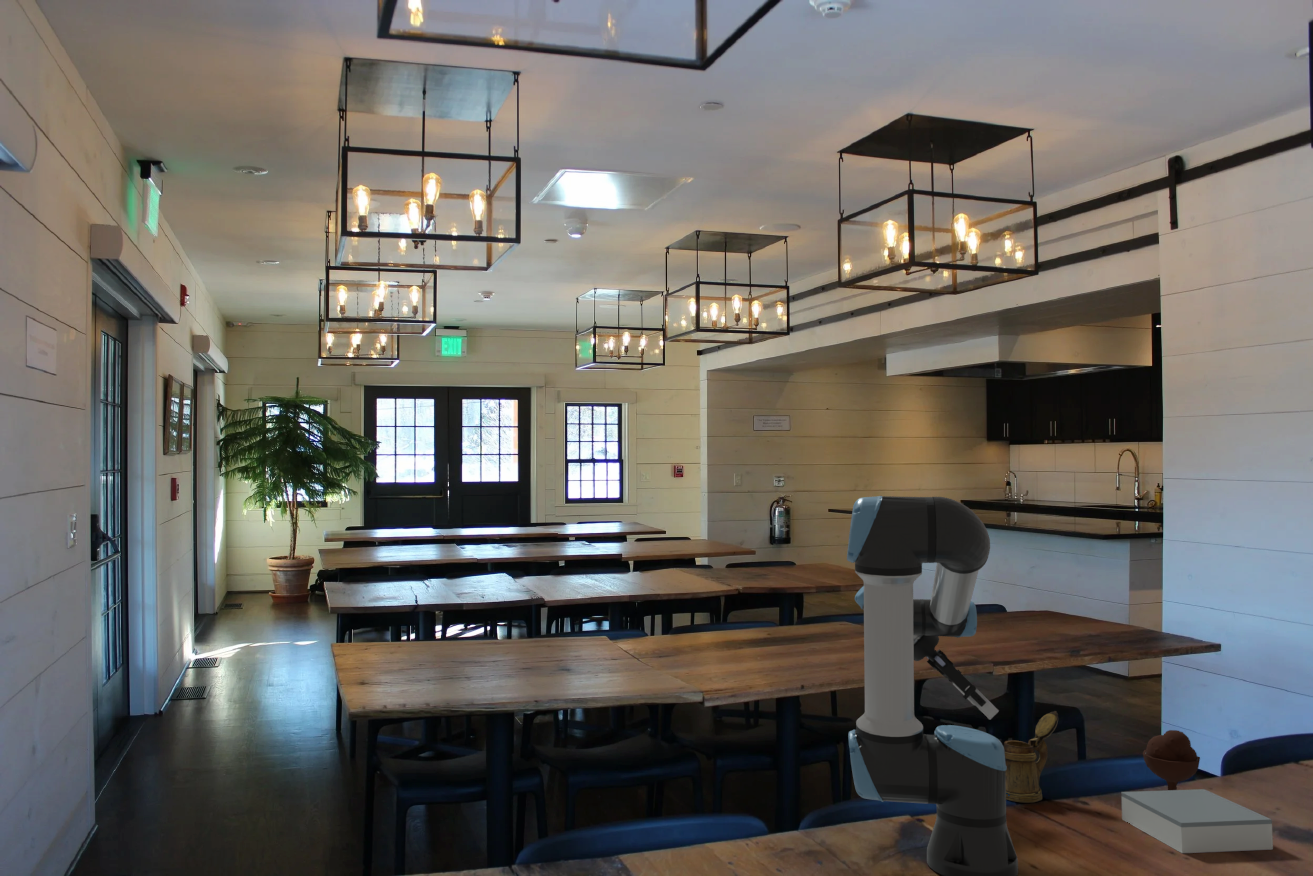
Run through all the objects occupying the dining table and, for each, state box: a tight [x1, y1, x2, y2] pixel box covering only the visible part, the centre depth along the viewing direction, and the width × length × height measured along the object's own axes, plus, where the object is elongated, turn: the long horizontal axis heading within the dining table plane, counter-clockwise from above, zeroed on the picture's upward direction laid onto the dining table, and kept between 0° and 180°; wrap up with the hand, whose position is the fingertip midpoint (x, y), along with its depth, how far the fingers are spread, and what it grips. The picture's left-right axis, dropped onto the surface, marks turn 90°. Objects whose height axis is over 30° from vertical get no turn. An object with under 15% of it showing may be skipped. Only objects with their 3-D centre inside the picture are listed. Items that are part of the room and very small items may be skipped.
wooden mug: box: [1003, 710, 1059, 804], centre depth 204 cm, size 9×14×18 cm, turn 97°
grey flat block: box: [1120, 788, 1274, 854], centre depth 181 cm, size 18×18×5 cm
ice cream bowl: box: [1142, 729, 1201, 790], centre depth 201 cm, size 11×11×15 cm
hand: (985, 707), depth 206 cm, fingers open, 13 cm apart
